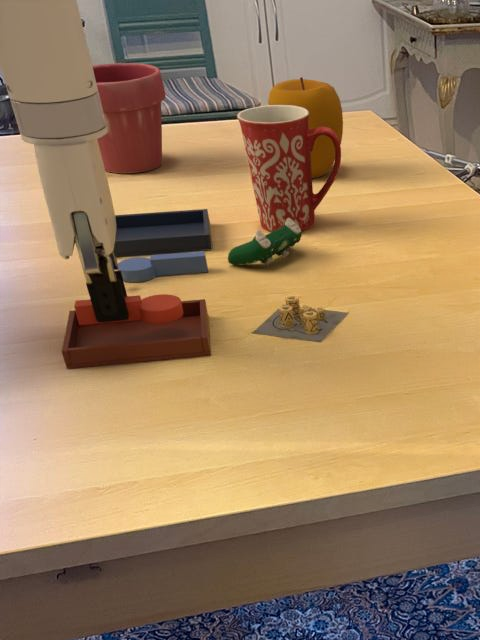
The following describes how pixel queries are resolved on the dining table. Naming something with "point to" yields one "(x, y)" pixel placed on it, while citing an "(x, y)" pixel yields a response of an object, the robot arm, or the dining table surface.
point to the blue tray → (162, 232)
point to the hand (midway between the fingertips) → (113, 314)
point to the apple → (314, 115)
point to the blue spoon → (162, 266)
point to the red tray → (137, 339)
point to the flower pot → (130, 116)
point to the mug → (284, 163)
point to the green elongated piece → (266, 245)
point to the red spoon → (137, 309)
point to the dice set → (300, 321)
